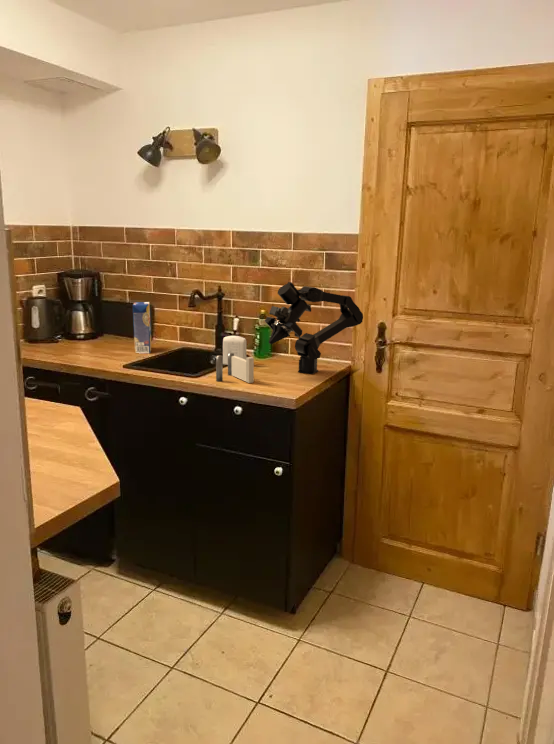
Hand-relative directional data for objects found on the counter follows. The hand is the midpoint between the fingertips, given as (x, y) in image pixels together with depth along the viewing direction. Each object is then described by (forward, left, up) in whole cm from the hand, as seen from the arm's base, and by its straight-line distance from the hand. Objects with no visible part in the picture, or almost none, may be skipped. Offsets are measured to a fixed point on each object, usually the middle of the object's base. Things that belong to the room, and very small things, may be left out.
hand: (269, 343), depth 215 cm
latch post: (+14, +14, -13) cm, 24 cm away
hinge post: (+15, +3, -13) cm, 21 cm away
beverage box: (+74, -15, -14) cm, 76 cm away
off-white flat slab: (+8, +8, -13) cm, 17 cm away
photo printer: (+23, -12, -14) cm, 29 cm away
